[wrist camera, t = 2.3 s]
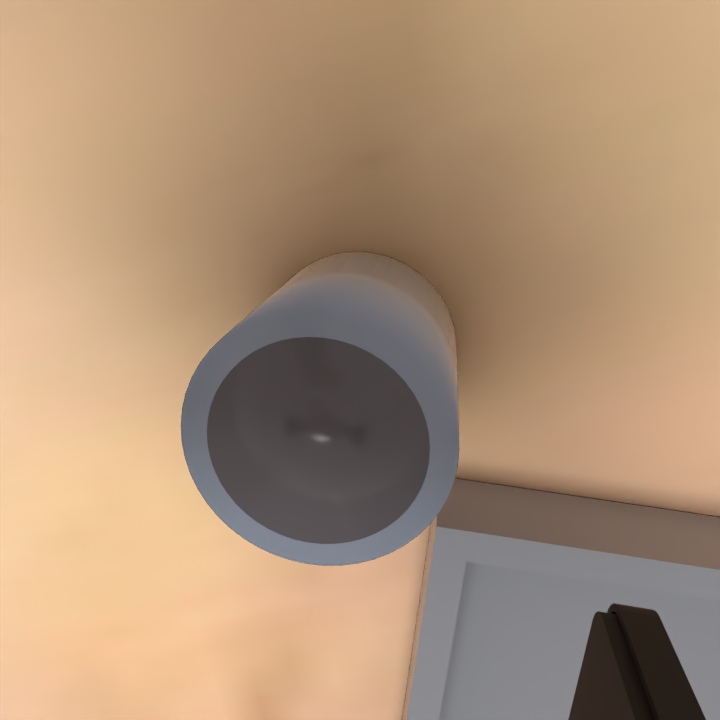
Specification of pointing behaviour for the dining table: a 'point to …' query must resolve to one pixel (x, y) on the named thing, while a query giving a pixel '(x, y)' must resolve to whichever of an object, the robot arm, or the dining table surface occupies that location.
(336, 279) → the cup
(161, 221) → the dining table surface
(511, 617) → the tray
